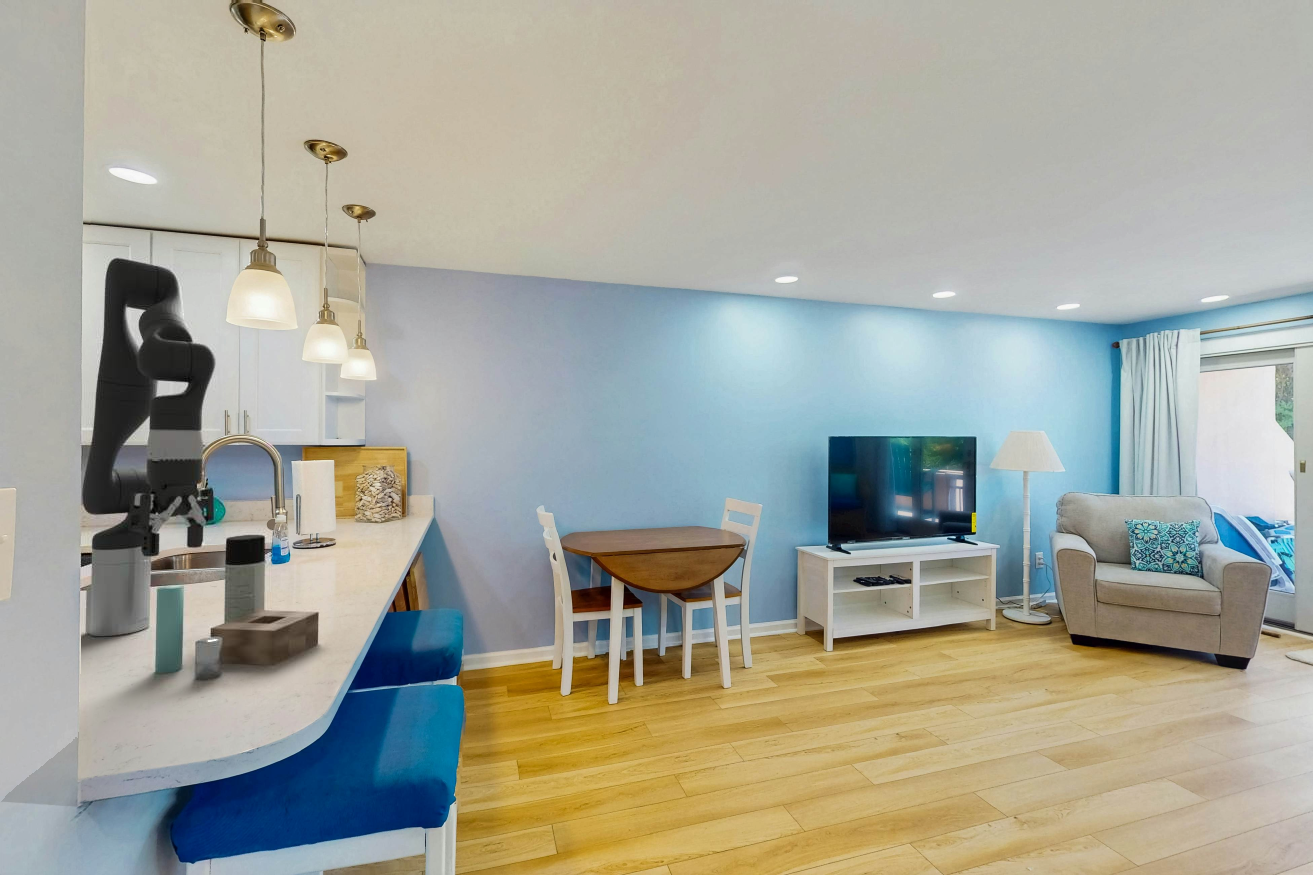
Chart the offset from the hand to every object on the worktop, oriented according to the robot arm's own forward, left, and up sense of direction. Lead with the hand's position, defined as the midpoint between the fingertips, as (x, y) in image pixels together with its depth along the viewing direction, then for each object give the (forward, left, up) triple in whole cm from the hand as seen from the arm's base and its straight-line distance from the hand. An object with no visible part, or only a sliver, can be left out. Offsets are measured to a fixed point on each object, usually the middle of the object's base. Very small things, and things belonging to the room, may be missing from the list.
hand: (173, 551), depth 104 cm
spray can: (-1, +18, -20) cm, 27 cm away
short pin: (+9, -2, -20) cm, 22 cm away
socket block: (+10, +10, -20) cm, 24 cm away
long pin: (0, 0, -20) cm, 20 cm away
